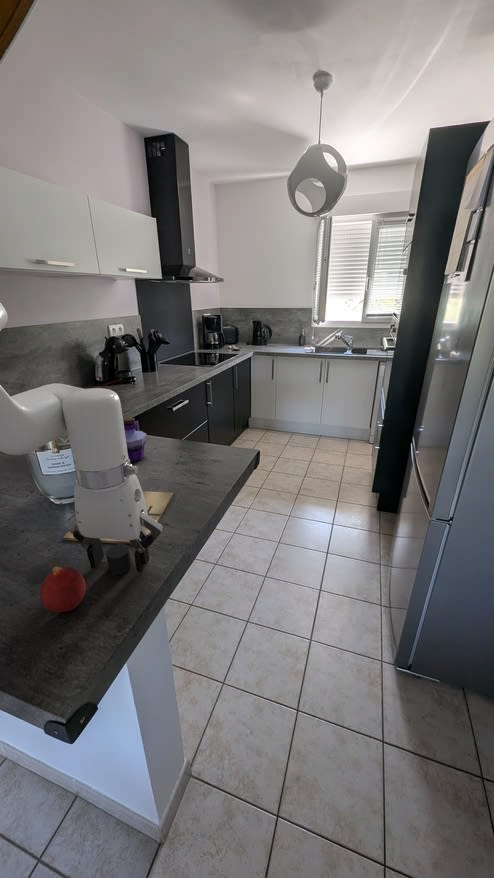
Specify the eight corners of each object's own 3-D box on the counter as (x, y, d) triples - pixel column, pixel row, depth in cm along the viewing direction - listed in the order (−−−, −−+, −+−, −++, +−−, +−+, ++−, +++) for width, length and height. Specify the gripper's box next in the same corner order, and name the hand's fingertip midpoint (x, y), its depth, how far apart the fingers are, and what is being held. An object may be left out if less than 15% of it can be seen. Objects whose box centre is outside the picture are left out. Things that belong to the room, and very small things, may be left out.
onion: (73, 588, 56) (63, 547, 53) (97, 603, 54) (88, 561, 51) (38, 615, 52) (24, 572, 49) (62, 632, 49) (50, 588, 46)
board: (63, 539, 67) (62, 537, 67) (107, 491, 84) (107, 488, 84) (144, 545, 66) (144, 542, 66) (173, 494, 82) (173, 492, 82)
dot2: (105, 574, 59) (102, 557, 58) (115, 559, 62) (112, 543, 61) (126, 576, 59) (123, 559, 57) (134, 561, 62) (132, 544, 61)
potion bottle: (110, 461, 99) (104, 420, 94) (132, 450, 106) (127, 411, 101) (134, 467, 95) (128, 425, 91) (155, 455, 102) (151, 416, 98)
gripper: (167, 463, 56) (176, 553, 63) (63, 458, 58) (83, 546, 65) (151, 487, 49) (162, 585, 56) (33, 480, 51) (58, 576, 58)
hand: (119, 563), depth 60 cm, fingers open, 7 cm apart
